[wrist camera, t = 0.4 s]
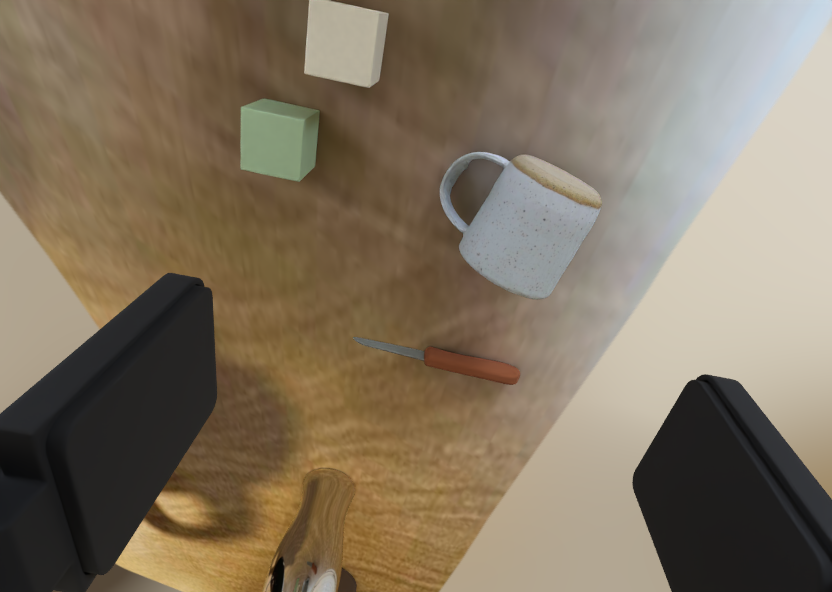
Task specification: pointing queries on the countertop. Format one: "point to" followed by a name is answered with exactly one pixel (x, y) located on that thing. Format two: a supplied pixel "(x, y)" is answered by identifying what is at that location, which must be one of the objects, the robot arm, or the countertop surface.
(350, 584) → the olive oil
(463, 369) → the kitchen knife
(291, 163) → the sage block
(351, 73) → the cream block
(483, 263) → the ceramic mug
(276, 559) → the beer glass
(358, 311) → the countertop surface
